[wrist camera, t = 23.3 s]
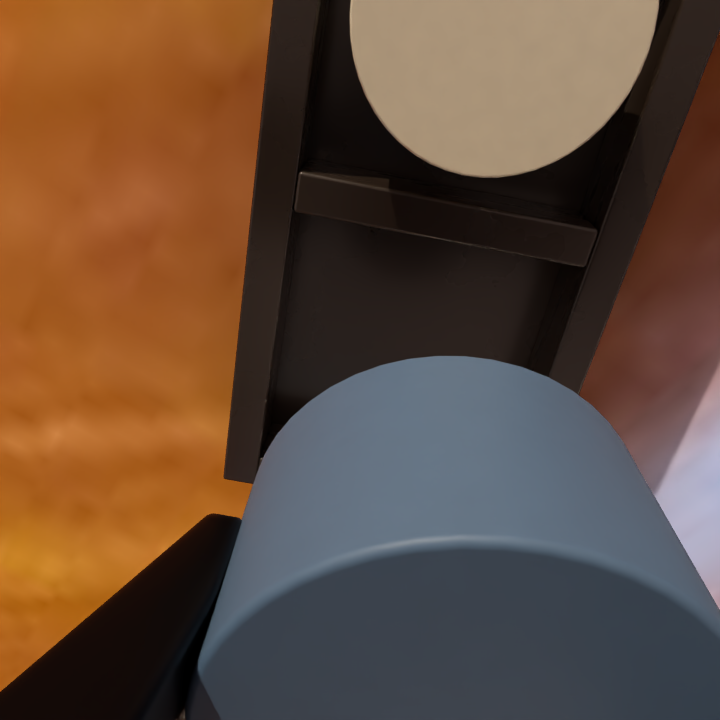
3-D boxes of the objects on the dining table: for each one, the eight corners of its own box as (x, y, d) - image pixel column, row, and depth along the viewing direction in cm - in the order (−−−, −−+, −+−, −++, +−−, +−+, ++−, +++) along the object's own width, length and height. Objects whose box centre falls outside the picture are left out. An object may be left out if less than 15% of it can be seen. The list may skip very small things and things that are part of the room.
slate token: (705, 396, 8) (891, 608, 5) (564, 681, 10) (632, 937, 7) (277, 316, 7) (202, 483, 5) (235, 624, 10) (167, 865, 7)
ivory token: (641, -93, 13) (713, -133, 10) (558, 171, 15) (597, 202, 12) (384, -148, 12) (381, -205, 10) (340, 129, 15) (327, 148, 12)
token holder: (740, -162, 13) (813, -205, 10) (512, 479, 20) (526, 532, 17) (321, -254, 12) (305, -318, 10) (241, 431, 19) (222, 479, 17)
